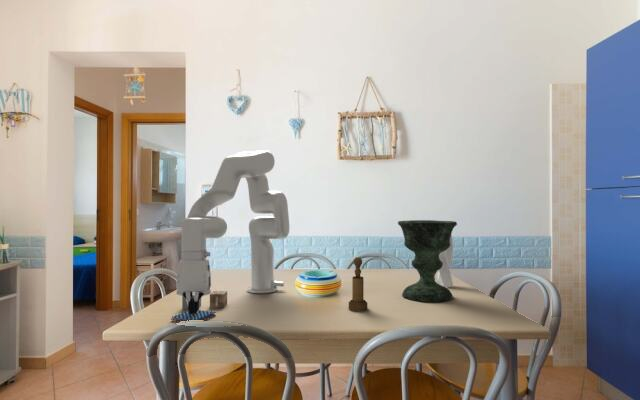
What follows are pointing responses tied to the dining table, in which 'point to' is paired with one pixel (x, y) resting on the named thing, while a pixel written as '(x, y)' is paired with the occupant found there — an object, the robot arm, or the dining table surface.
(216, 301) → the walnut number block
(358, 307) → the brown tall piece
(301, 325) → the dining table surface
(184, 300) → the charcoal number block
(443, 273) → the skyscraper
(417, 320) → the dining table surface
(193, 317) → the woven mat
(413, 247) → the goblet
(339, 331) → the dining table surface
